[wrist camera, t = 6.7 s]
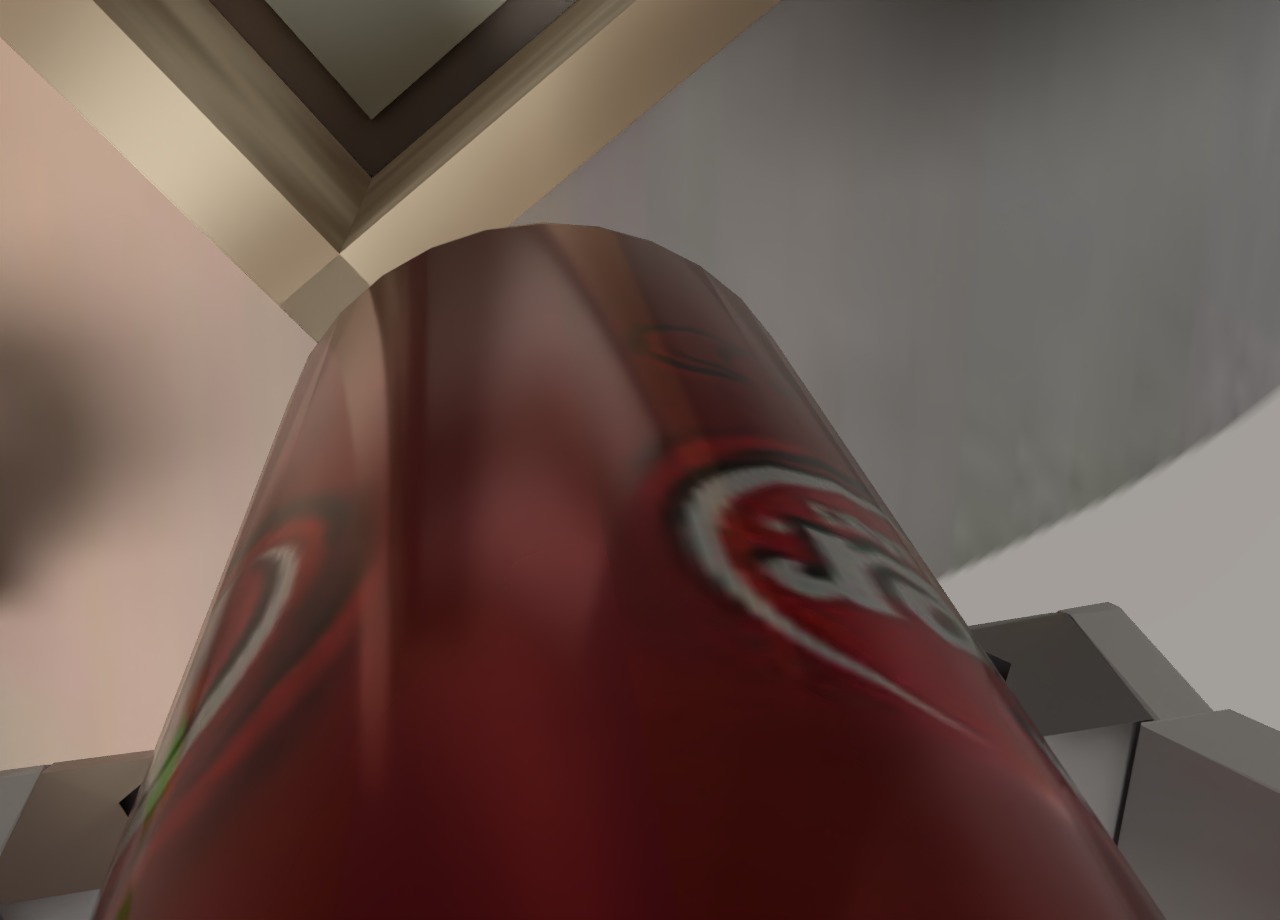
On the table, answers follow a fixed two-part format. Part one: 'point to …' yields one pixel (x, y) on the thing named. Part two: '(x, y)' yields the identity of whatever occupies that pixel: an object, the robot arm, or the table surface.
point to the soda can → (587, 639)
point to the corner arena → (373, 76)
